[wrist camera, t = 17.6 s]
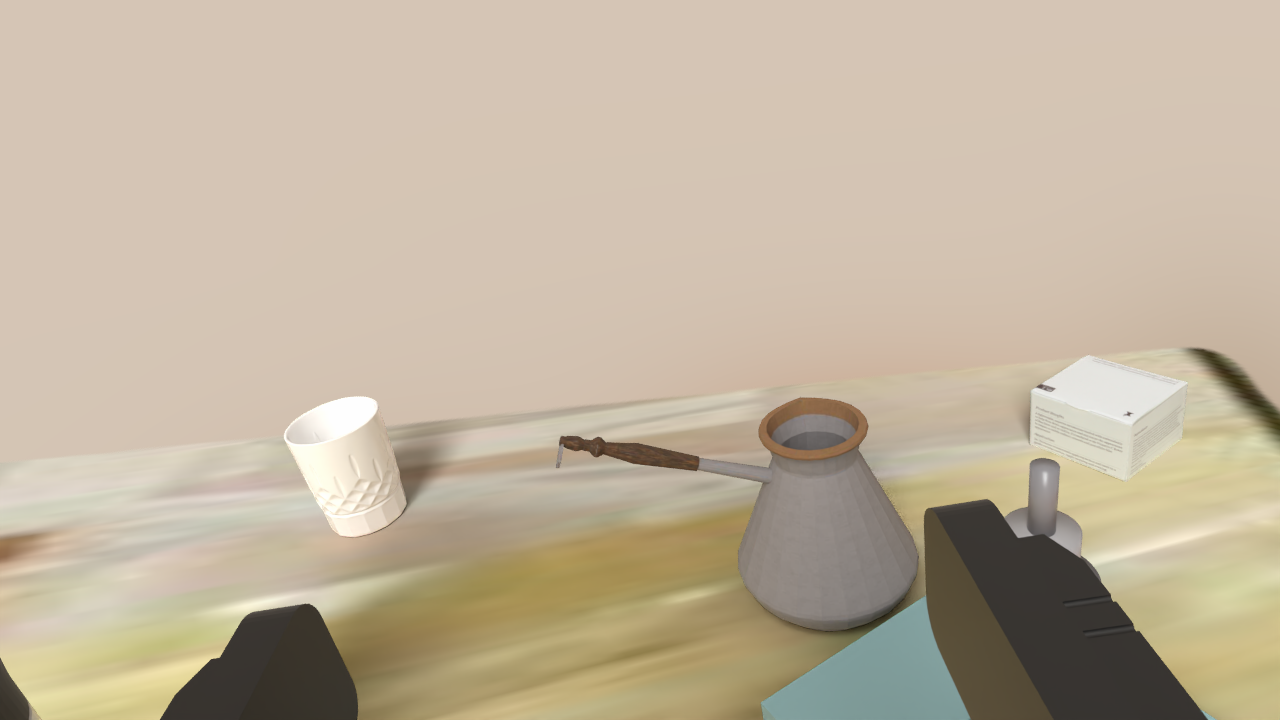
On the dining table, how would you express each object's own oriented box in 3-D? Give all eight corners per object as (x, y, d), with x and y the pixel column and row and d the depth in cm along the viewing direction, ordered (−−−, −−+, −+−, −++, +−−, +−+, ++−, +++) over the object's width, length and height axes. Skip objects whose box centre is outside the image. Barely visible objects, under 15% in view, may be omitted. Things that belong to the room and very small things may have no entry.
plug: (958, 789, 39) (955, 465, 31) (1018, 742, 41) (1032, 421, 32) (1037, 863, 35) (1060, 518, 27) (1100, 807, 37) (1139, 466, 29)
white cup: (326, 506, 74) (286, 414, 69) (410, 477, 75) (376, 387, 71) (325, 554, 67) (280, 456, 62) (417, 521, 68) (380, 424, 64)
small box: (1184, 440, 60) (1192, 381, 57) (1125, 485, 56) (1131, 424, 54) (1083, 406, 66) (1087, 351, 64) (1025, 445, 63) (1027, 389, 60)
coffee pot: (888, 520, 57) (878, 336, 51) (947, 639, 47) (943, 427, 41) (602, 566, 59) (556, 392, 52) (598, 692, 48) (540, 495, 42)
